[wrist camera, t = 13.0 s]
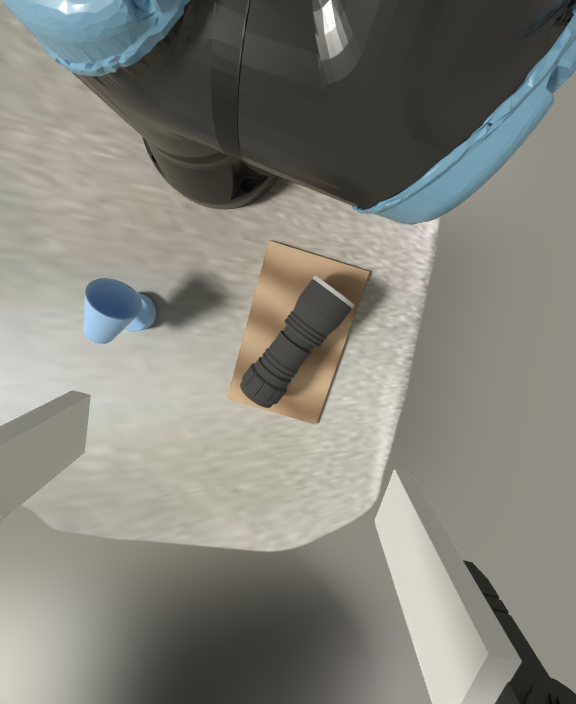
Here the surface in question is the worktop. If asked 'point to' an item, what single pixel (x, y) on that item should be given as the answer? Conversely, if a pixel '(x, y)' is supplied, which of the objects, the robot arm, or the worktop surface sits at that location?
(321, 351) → the mat
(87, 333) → the spotlight
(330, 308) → the flashlight
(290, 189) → the worktop surface
